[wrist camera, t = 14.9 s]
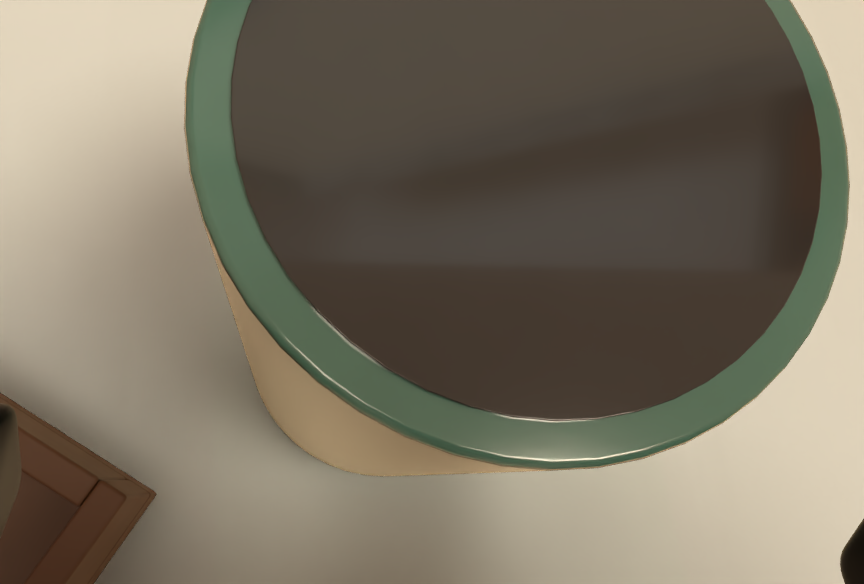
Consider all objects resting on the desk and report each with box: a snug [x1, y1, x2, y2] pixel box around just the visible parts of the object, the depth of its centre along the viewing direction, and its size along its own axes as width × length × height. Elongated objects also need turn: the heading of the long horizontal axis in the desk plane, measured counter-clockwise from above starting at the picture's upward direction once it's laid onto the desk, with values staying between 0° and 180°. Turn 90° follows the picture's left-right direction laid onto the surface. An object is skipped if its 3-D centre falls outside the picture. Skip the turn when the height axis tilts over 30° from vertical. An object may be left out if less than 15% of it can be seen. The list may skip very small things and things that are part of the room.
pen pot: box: [184, 0, 850, 477], centre depth 13 cm, size 6×6×12 cm
